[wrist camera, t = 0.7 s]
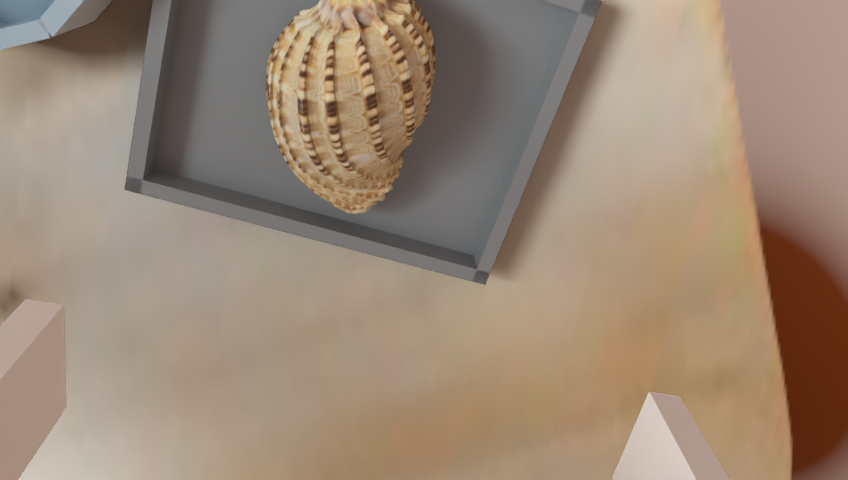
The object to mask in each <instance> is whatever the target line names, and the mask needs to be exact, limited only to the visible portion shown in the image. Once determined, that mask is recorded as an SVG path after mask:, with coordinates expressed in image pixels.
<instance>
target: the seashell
mask: <svg viewBox="0 0 848 480" xmlns="http://www.w3.org/2000/svg"><path fill="white" fill-rule="evenodd" d="M434 73H435V45H434V40H433V34H432V31H431V29H430V26H429V24H428V23H427V21H426V20H425V19H424V16H423V13H422V11H421V9H420V7H419V6H418V5H417V3H416V2H415V1H413V0H320V1H319V3H318V4H317V5H316V6H314V7H312V8H311V9H306V10H302V11H300V12H299V14H298V15H297V16H295V17H294V18H293V19H292V21H291V22H290V23H289V24H288V25H287V27H286V28H285V29H284V30H283V31H282V33H281V34H280V35H279V37H278V38H277V40H276V42H275V44H274V45H273V47H272V49H271V53H270V56H269V59H268V64H267V72H266V95H267V105H268V111H269V116H270V122H271V125H272V130H273V133H274V137H275V140H276V142H277V144H278V147H279V149H280V152H281V154H282V156H283V158H284V159H285V161H286V163H287V164H288V166H289V167H290V168H291V170H292V171H293V172H294V174H295V175H296V176H297V177H298V178H299V179H300V180H301V181H302V182H303V183H304V184H305V185H306V186H307V187H308V188H309V189H310V190H311V191H312V192H314V193H316V194H317V195H319V196H320V197H321V198H323V199H325V200H327V201H328V202H329V203H330V204H332V205H333V206H334V207H336V208H338V209H340V210H343V211H344V212H346V213H350V214H358V213H365V212H368V211H369V209H370V207H372V206H374V205H377V201H383V200H384V199H385V195H384V194H385V193H387V192H389V191H390V190H392V189H393V187H392V185H391V184H392V182H393V181H394V180H395V179H397V178H398V177H399V174H400V172H399V170H400V168H401V167H402V165H403V158H402V155H403V152H404V149H405V148H406V147H408V146H409V145H410V144H411V143H412V141H413V134H414V132H415V130H416V129H417V127H419V126H420V125H421V124H422V122H423V120H424V119H425V117H426V115H427V113H428V110H429V105H430V97H431V90H432V86H433V81H434Z"/></svg>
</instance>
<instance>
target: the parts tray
mask: <svg viewBox="0 0 848 480" xmlns="http://www.w3.org/2000/svg"><path fill="white" fill-rule="evenodd" d="M319 1H320V0H153V2H152V9H151V16H150V22H149V29H148V36H147V42H146V49H145V56H144V63H143V69H142V76H141V83H140V89H139V96H138V103H137V110H136V116H135V123H134V130H133V137H132V143H131V150H130V157H129V163H128V170H127V177H126V184H125V190H128V191H132V192H135V193H139V194H143V195H147V196H150V197H154V198H158V199H162V200H166V201H169V202H173V203H177V204H181V205H185V206H188V207H192V208H196V209H200V210H204V211H207V212H211V213H215V214H219V215H223V216H226V217H230V218H234V219H238V220H241V221H245V222H249V223H253V224H257V225H260V226H264V227H268V228H272V229H276V230H279V231H283V232H287V233H291V234H295V235H298V236H302V237H306V238H310V239H313V240H317V241H321V242H325V243H329V244H332V245H336V246H340V247H344V248H348V249H351V250H355V251H359V252H363V253H367V254H370V255H374V256H378V257H382V258H385V259H389V260H393V261H397V262H401V263H404V264H408V265H412V266H416V267H420V268H423V269H427V270H431V271H435V272H439V273H442V274H446V275H450V276H454V277H457V278H461V279H465V280H469V281H473V282H476V283H480V284H484V285H485V284H486V282H487V279H488V277H489V274H490V272H491V270H492V267H493V265H494V262H495V260H496V257H497V255H498V253H499V250H500V248H501V245H502V243H503V240H504V238H505V236H506V233H507V231H508V228H509V226H510V223H511V221H512V218H513V216H514V214H515V211H516V209H517V206H518V204H519V201H520V199H521V197H522V194H523V192H524V189H525V187H526V184H527V182H528V180H529V177H530V175H531V172H532V170H533V167H534V165H535V163H536V160H537V158H538V155H539V153H540V150H541V148H542V146H543V143H544V141H545V138H546V136H547V133H548V131H549V129H550V126H551V124H552V121H553V119H554V116H555V114H556V112H557V109H558V107H559V104H560V102H561V99H562V97H563V95H564V92H565V90H566V87H567V85H568V82H569V80H570V78H571V75H572V73H573V70H574V68H575V65H576V63H577V61H578V58H579V56H580V53H581V51H582V48H583V46H584V44H585V41H586V39H587V36H588V34H589V31H590V29H591V27H592V24H593V22H594V19H595V17H596V14H597V12H598V10H599V7H600V5H601V2H602V1H600V0H413V1H415V2H416V3H417V5H418V6H419V7H420V9H421V11H422V13H423V16H424V19H425V20H426V21H427V23H428V24H429V26H430V29H431V31H432V34H433V40H434V45H435V73H434V81H433V86H432V90H431V97H430V105H429V110H428V113H427V115H426V117H425V119H424V120H423V122H422V124H421V125H420V126H419V127H417V129H416V130H415V132H414V134H413V141H412V143H411V144H410V145H409V146H408V147H406V148H405V149H404V152H403V155H402V158H403V165H402V167H401V168H400V170H399V172H400V174H399V177H398V178H397V179H395V180H394V181H393V182H392V184H391V185H392V187H393V189H392V190H390V191H389V192H387V193H385V194H384V195H385V199H384V200H383V201H377V205H374V206H372V207H370V209H369V211H368V212H365V213H358V214H350V213H346V212H344V211H343V210H340V209H338V208H336V207H334V206H333V205H332V204H330V203H329V202H328V201H327V200H325V199H323V198H321V197H320V196H319V195H317V194H316V193H314V192H312V191H311V190H310V189H309V188H308V187H307V186H306V185H305V184H304V183H303V182H302V181H301V180H300V179H299V178H298V177H297V176H296V175H295V174H294V172H293V171H292V170H291V168H290V167H289V166H288V164H287V163H286V161H285V159H284V158H283V156H282V154H281V152H280V149H279V147H278V144H277V142H276V140H275V137H274V133H273V130H272V125H271V122H270V116H269V111H268V105H267V95H266V72H267V64H268V59H269V56H270V53H271V49H272V47H273V45H274V44H275V42H276V40H277V38H278V37H279V35H280V34H281V33H282V31H283V30H284V29H285V28H286V27H287V25H288V24H289V23H290V22H291V21H292V19H293V18H294V17H295V16H297V15H298V14H299V12H300V11H302V10H306V9H311V8H312V7H314V6H316V5H317V4H318V3H319Z"/></svg>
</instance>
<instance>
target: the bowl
mask: <svg viewBox="0 0 848 480" xmlns="http://www.w3.org/2000/svg"><path fill="white" fill-rule="evenodd" d="M111 2H112V0H0V50H2V49H6V48H10V47H14V46H19V45H23V44H27V43H32V42H36V41H40V40H44V39H49V38H52V37H55V36H57V35H60V34H63V33H65V32H68V31H71V30H74V29H76V28H79V27H82V26H84V25H87V24H90V23H92V22H94V21H95V20H96V19H97V17H98V16H99V15H100V14H101V13H102V12H103V11H104V9H105V8H106V7H107V6H108V5H109V4H110V3H111Z"/></svg>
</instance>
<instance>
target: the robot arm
mask: <svg viewBox="0 0 848 480" xmlns="http://www.w3.org/2000/svg"><path fill="white" fill-rule="evenodd" d="M65 408H66V369H65V321H64V304H58V303H51V302H44V301H38V300H31V299H25V300H24V301H23V302H22V303H21V304H20V305H19V306H18V308H17V309H16V310H15V311H14V312H13V313H12V314H11V315H10V316H9V317H8V318H7V319H6V320H5V321H4V322H3V323H2V324H1V325H0V480H18V479H19V477H20V476H21V474H22V473H23V471H24V470H25V468H26V467H27V465H28V464H29V462H30V461H31V459H32V458H33V456H34V455H35V453H36V452H37V450H38V449H39V447H40V446H41V444H42V443H43V441H44V440H45V438H46V437H47V435H48V434H49V432H50V431H51V429H52V428H53V426H54V425H55V423H56V422H57V420H58V419H59V417H60V416H61V414H62V413H63V411H64V410H65ZM612 480H729V478H728V477H727V475H726V473H725V472H724V470H723V468H722V466H721V465H720V463H719V461H718V460H717V458H716V456H715V455H714V453H713V451H712V450H711V448H710V446H709V445H708V443H707V441H706V439H705V438H704V436H703V434H702V433H701V431H700V429H699V428H698V426H697V424H696V423H695V421H694V419H693V417H692V416H691V414H690V412H689V411H688V409H687V407H686V406H685V404H684V402H683V401H682V399H681V397H680V396H677V395H670V394H664V393H657V392H650V391H649V393H648V395H647V398H646V400H645V402H644V405H643V407H642V409H641V412H640V414H639V416H638V419H637V421H636V423H635V426H634V428H633V430H632V433H631V435H630V437H629V440H628V442H627V444H626V447H625V449H624V451H623V453H622V456H621V458H620V460H619V463H618V465H617V467H616V470H615V472H614V474H613V477H612Z"/></svg>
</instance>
